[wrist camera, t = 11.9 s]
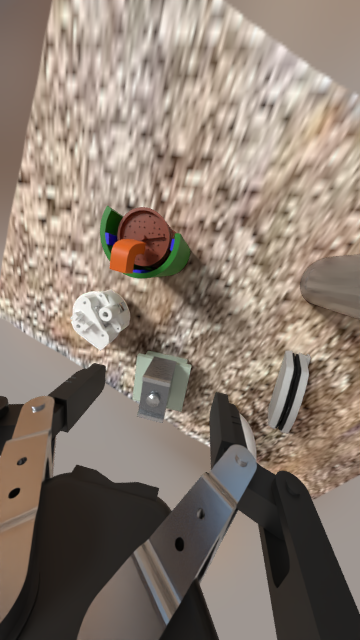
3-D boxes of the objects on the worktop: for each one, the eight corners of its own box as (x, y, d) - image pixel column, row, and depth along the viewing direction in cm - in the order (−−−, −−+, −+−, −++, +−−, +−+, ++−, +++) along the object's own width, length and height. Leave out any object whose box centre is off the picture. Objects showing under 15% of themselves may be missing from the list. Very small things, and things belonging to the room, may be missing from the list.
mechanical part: (80, 299, 42) (34, 310, 31) (122, 279, 39) (89, 284, 28) (102, 340, 45) (68, 364, 33) (143, 324, 42) (121, 345, 31)
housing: (176, 361, 38) (169, 384, 30) (169, 395, 40) (162, 424, 33) (154, 356, 38) (142, 377, 31) (149, 390, 41) (136, 417, 33)
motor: (192, 232, 35) (177, 188, 16) (187, 278, 38) (169, 288, 18) (143, 228, 36) (73, 182, 17) (141, 273, 38) (79, 277, 19)
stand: (192, 356, 42) (191, 367, 38) (183, 396, 46) (181, 411, 41) (144, 346, 43) (137, 355, 39) (139, 386, 47) (132, 399, 42)
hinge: (288, 414, 43) (292, 448, 35) (267, 406, 45) (266, 436, 37) (310, 353, 38) (320, 375, 30) (285, 347, 40) (288, 366, 32)
